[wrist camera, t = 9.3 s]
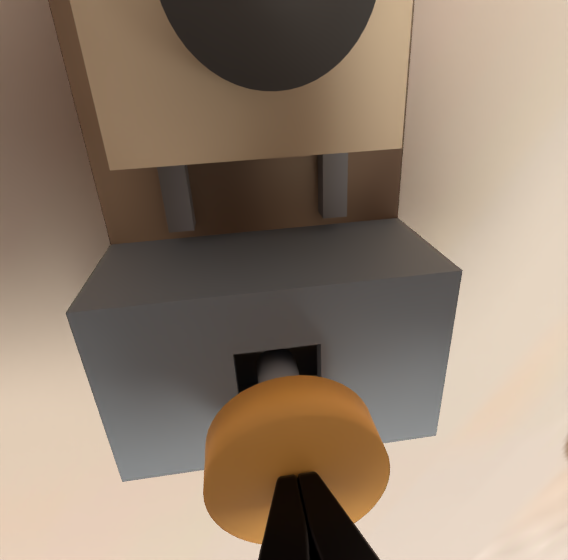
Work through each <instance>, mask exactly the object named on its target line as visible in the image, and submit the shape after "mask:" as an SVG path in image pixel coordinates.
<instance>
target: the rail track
mask: <svg viewBox="0 0 568 560" xmlns="http://www.w3.org/2000/svg"><path fill="white" fill-rule="evenodd" d="M48 2H49V5H50V9H51V13H52V17H53V21H54V25H55V29H56V33H57V37H58V41H59V44H60V48H61V52H62V56H63V60H64V64H65V68H66V72H67V76H68V80H69V83H70V87H71V91H72V95H73V99H74V103H75V107H76V111H77V115H78V119H79V123H80V126H81V130H82V134H83V138H84V142H85V146H86V150H87V154H88V158H89V162H90V165H91V169H92V173H93V177H94V181H95V185H96V189H97V193H98V197H99V201H100V204H101V208H102V212H103V216H104V220H105V224H106V228H107V232H108V236H109V240H110V244H122V243H133V242H143V241H154V240H165V239H176V238H187V237H197V236H208V235H219V234H230V233H240V232H251V231H262V230H273V229H283V228H294V227H305V226H316V225H326V224H337V223H348V222H359V221H370V220H380V219H391V218H398V206H399V193H400V180H401V167H402V154H403V141H404V128H405V115H406V102H407V89H408V77H409V64H410V51H411V38H412V25H413V12H414V0H413V7H412V20H411V34H410V47H409V60H408V73H407V86H406V99H405V113H404V126H403V139H402V148H400V149H387V150H374V151H361V152H348V153H335V154H321V155H308V156H295V157H282V158H269V159H256V160H243V161H229V162H216V163H203V164H190V165H177V166H164V167H150V168H137V169H124V170H111V171H110V169H109V164H108V160H107V156H106V152H105V148H104V143H103V139H102V135H101V131H100V126H99V122H98V118H97V114H96V109H95V105H94V101H93V97H92V93H91V88H90V84H89V80H88V76H87V71H86V67H85V63H84V59H83V55H82V50H81V46H80V42H79V38H78V33H77V29H76V25H75V21H74V17H73V12H72V8H71V4H70V0H48Z"/></svg>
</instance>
